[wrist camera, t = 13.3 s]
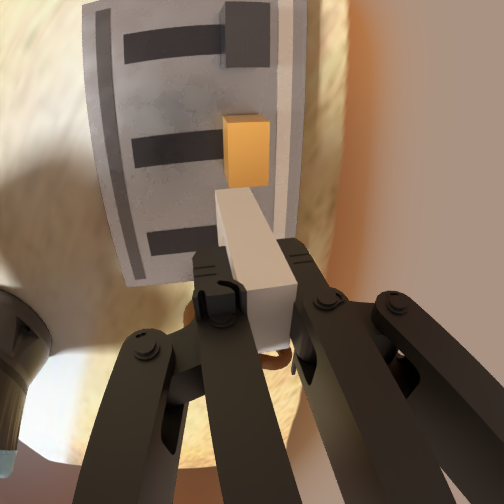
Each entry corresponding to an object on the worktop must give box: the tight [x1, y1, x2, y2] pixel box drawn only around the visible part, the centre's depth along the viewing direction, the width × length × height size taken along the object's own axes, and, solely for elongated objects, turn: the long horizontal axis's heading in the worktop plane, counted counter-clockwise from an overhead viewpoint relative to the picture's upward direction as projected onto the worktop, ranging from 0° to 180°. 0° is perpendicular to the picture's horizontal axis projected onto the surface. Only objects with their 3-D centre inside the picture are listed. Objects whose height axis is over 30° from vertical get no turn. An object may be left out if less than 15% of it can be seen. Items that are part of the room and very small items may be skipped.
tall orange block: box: [222, 114, 270, 188], centre depth 23 cm, size 3×5×4 cm, turn 0°
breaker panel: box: [82, 0, 307, 288], centre depth 23 cm, size 18×28×6 cm, turn 0°
